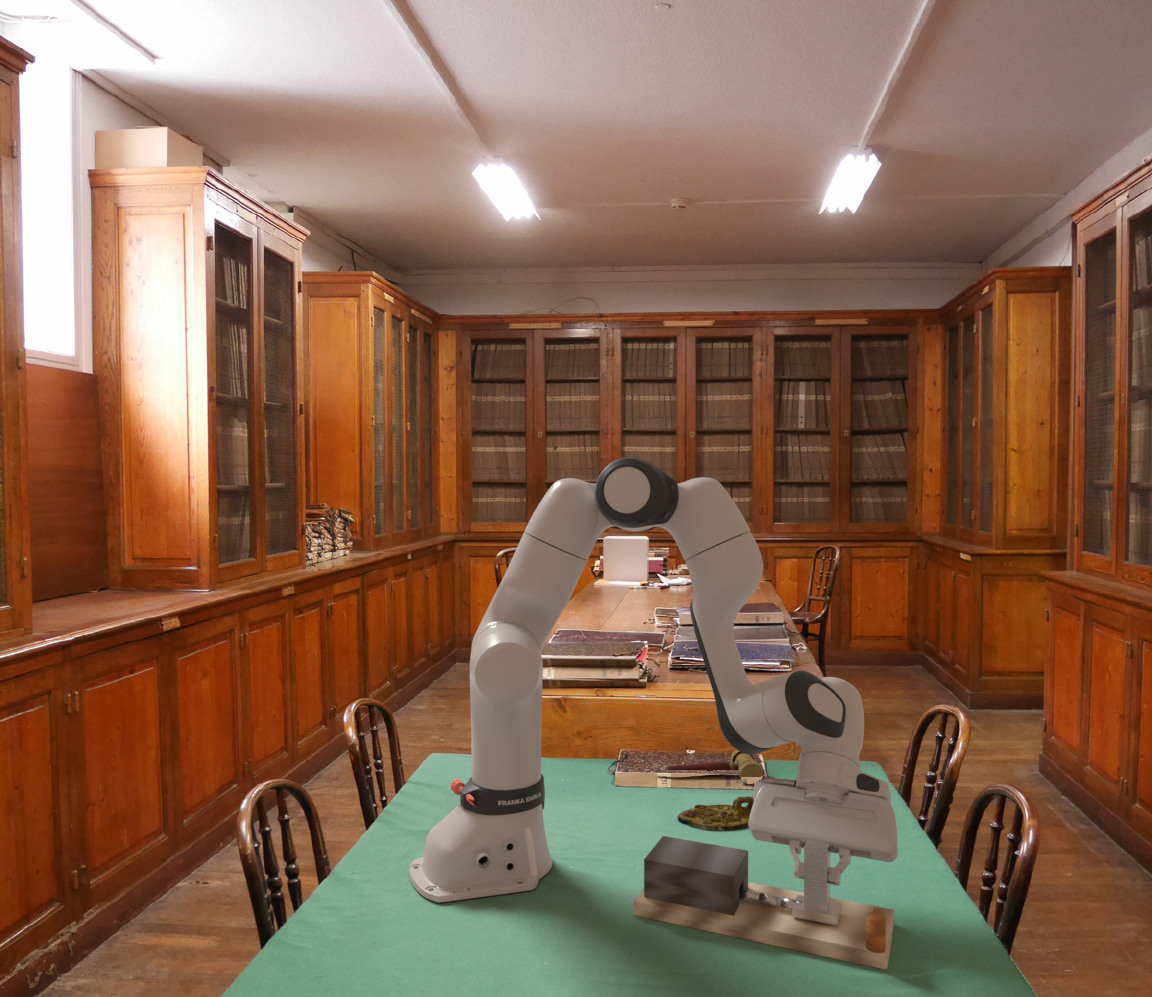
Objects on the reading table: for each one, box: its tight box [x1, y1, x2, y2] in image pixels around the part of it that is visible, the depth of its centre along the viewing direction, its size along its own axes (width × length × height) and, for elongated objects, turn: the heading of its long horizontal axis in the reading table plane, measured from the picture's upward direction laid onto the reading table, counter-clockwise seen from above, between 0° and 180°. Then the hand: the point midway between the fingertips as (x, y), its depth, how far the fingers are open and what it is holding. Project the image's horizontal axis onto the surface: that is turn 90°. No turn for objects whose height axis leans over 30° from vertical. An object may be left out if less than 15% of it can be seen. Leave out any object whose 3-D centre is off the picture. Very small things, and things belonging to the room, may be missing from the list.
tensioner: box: [633, 835, 895, 971], centre depth 123 cm, size 34×12×8 cm, turn 66°
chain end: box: [739, 838, 842, 926], centre depth 123 cm, size 23×4×10 cm, turn 66°
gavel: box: [664, 748, 764, 778], centre depth 179 cm, size 21×5×10 cm
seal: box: [677, 796, 754, 832], centre depth 157 cm, size 9×5×15 cm
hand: (816, 880), depth 119 cm, fingers closed on chain end, 3 cm apart
